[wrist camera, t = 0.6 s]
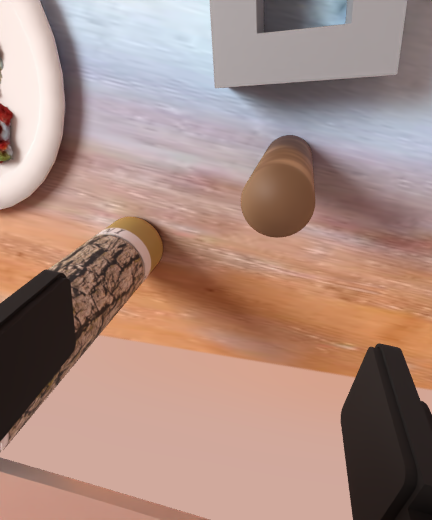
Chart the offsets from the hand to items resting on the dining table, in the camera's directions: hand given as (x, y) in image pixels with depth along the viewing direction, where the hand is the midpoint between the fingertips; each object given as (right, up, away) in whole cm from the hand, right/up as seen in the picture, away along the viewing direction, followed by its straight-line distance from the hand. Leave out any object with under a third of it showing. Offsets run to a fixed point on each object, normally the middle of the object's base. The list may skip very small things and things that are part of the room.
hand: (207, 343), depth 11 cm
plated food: (-28, +23, +27) cm, 45 cm away
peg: (+7, +12, +22) cm, 26 cm away
